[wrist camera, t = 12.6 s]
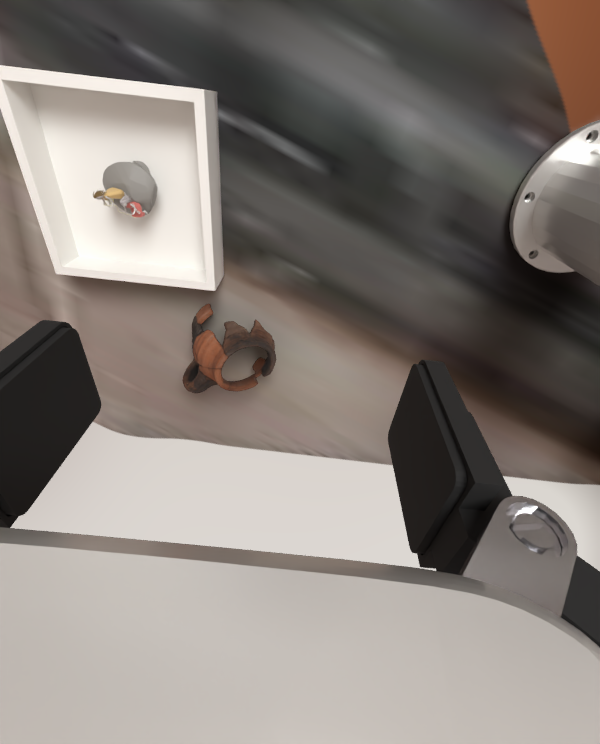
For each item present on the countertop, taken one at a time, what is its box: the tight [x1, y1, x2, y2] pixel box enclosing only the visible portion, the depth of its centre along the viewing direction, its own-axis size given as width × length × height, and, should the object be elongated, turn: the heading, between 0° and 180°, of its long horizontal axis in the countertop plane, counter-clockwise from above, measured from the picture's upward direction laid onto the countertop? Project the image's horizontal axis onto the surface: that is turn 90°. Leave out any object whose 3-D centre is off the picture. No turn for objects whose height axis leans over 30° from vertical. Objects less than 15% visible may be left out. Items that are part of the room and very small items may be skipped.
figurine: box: [93, 161, 158, 218], centre depth 30 cm, size 5×4×6 cm
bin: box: [0, 65, 224, 291], centre depth 31 cm, size 16×16×4 cm
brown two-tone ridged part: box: [183, 304, 276, 393], centre depth 41 cm, size 12×10×8 cm
